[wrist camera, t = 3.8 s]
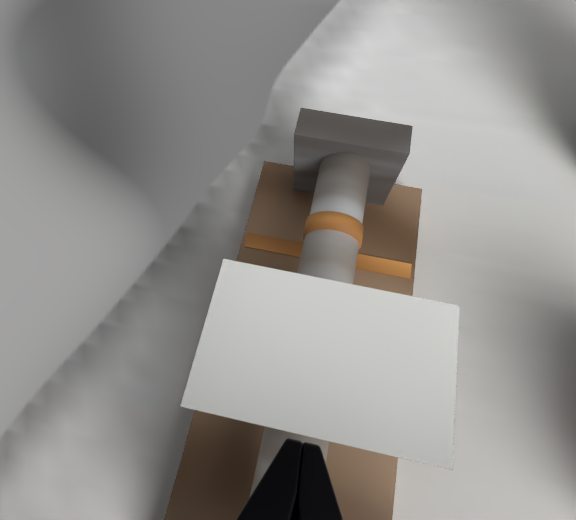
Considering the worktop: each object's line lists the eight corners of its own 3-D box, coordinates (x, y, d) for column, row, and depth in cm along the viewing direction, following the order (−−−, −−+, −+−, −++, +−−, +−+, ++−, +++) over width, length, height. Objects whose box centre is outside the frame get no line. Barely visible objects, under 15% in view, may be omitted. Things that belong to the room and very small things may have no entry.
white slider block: (356, 423, 15) (452, 469, 6) (242, 397, 15) (180, 406, 7) (365, 352, 16) (459, 305, 7) (258, 329, 16) (223, 258, 8)
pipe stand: (370, 630, 14) (424, 789, 9) (158, 572, 15) (78, 683, 9) (413, 202, 21) (458, 133, 15) (266, 176, 22) (257, 100, 16)
